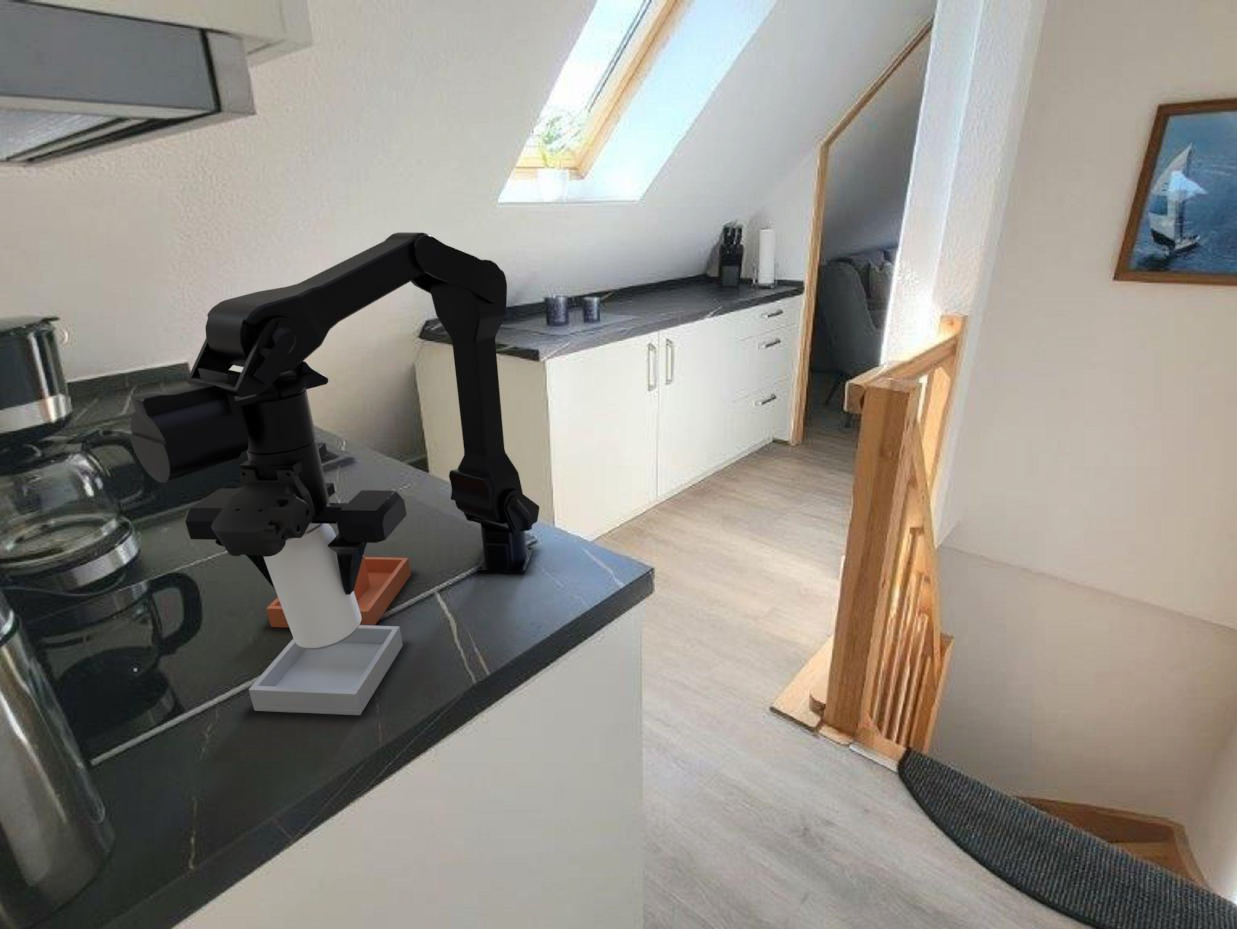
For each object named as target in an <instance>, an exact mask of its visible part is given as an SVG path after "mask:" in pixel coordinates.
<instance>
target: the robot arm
mask: <svg viewBox="0 0 1237 929" xmlns="http://www.w3.org/2000/svg"><path fill="white" fill-rule="evenodd" d="M409 283H412V285H413V286H415V287H416V288H418V289H420V290H422V291H424V292H426V293H428V294H430V295H431V300H432V304H433V308H434V311H435V315H436V317H437V319H438V320H439V322H440V323H441V325H442V327H443V328H444V330H445V331H446V333H447V335H448V336H449V338H450V339H451V340H450V341H451V344H452V351H453V353H452V354H453V361H454V371H455V380H456V389H457V398H458V407H459V416H460V425H461V436H462V445H463V453H464V454H463V457H462V458H461V461H460V462H459V464H458V467H457V468H456V469H455V468H454V469H450V471H449V473H448V478H449V481H450V486H451V493H450V500H451V501H454V502H455V506H456V508H457V510H460V512H462V513H463V515H464V517H465V519H466V520H467V521H468V522H473V523H477V524H480V532H481V539H482V549H483V556H482V558H481V559H480V561H479V563H478V565H477V567H476V572H477V573H479V574H480V573H481V574H514V575H515V574H521V575H522V574H525V572H526V571H527V569H528V567H529V563H530V561H531V559H532V556H533V555H534V554H533V553H534V547H533V546H527V542H526V532H527V531H531V530H532V529H533V525H534V524H536V523H537V522H538V520H539V515H540V514H539V513H540V505H538V504H537V503H536V502H534V501H533V500H532V499H530V498H529V497H528V496H526V494H524V492H523V487H522V483H521V478H520V474H519V471H518V470H517V468H516V466H515V465H514V463H513V462H512V460H511V459H510V457H509V456H508V453H506V449H505V439H504V426H503V416H502V415H503V414H502V405H501V393H500V381H499V368H498V357H497V345H496V344H497V343H496V337H497V335H498V333H499V330H500V328H501V326H502V324H503V322H504V320H505V318H506V315H507V301H508V300H507V299H508V298H507V297H508V282H507V278H506V274H505V271H504V270H503V269H501V268H500V266H499V265H498V263H496V262H494V261H493V260H491V259H481V258H479V257H477V256H475V255H473V254H471V253H467V252H466V251H462V250H460V249H458V248H455V247H452V246H450V245H447V244H445V243H443V242H442V241H441V240H439V239H437V238H436V237H434V236H431V235H430V234H428V233H425V232H411V231H410V232H408V231H407V232H406V231H405V232H404V231H403V232H399V231H398V232H394V233H392V234H390V235H389V236H388V237H387V238H385V239H384V240H383V241H381V242H379V243H377V244H376V245H373V246H371V247H369V248H367V249H365V250H363V251H360V252H359V253H357V254H355V255H353V256H351V257H349V258H347V259H345V260H343V261H341V262H338V263H337V264H334V265H333V266H331V267H329V268H326V269H324V270H322V271H321V272H318V273H317V274H314V275H312V276H311V277H308V278H307V279H305V280H303V281H300V282H298V283H295V284H292V285H288V286H283V287H277V288H271V289H265V290H260V291H259V290H258V291H255V292H251V293H247V294H243V295H240V296H236V297H232V298H231V297H230V298H228V299H224V300H222V301H220V302H218V303H217V304H215V305H214V306H213V307H211V309H210V310H209V311H208V313H207V314H206V315H207V321H206V324H205V327H204V328H205V340H204V342H203V344H202V345H201V348H200V350H199V352H198V355H197V357H196V359H195V361H194V364H193V366H192V368H191V370H190V372H189V375H188V377H187V379H186V383H187V385H188V386H187V385H186V386H183V387H178V388H173V389H169V390H163V391H148V392H143V393H139V394H135V395H133V396H132V397H131V402H132V406H133V408H134V411H133V413H132V414H131V417H130V430H131V433H129V434H128V436H129V437H128V438H129V440H130V443H131V446H132V448H133V451H134V453H135V455H136V457H137V459H138V461H139V462H140V464H141V466H142V467H143V469H144V470H145V472H147V474H148V475H149V476H150V477H151V478H152V479H153V480H155V481H156V482H158V483H160V484H163V483H168V482H173V481H174V480H178V479H180V478H184V477H187V476H190V475H192V474H196V473H199V472H202V471H205V470H208V469H211V468H214V467H217V466H221V465H224V464H227V463H230V462H233V461H236V460H238V459H239V458H240V457H241V455H242V453H244V452H246V453H247V458H248V460H246V461H244V462H243V463H241V464H239V468H240V470H239V473H238V474H239V477H240V488H226V487H225V488H224V487H223V488H221V487H220V488H218V489H217V490H215V491H214V492H213V493H211V494H209V495H208V496H205V498H203V499H201V500H199V501H198V502H196V503H195V504H193V505H192V506H190V507H189V508H188V510H187V512H186V514H185V517H184V523H185V527H186V530H187V533H188V536H189V539H190V540H210V541H211V540H213V541H214V543H215V544H216V545H217V546H220V547H223V548H224V549H225V550H226V552H227V553H228V555H230V556H233V557H241V556H242V555H243V556H246V557H247V558H248V559H249V560H250V561H251V563H253V565H254V566H255V567H256V568H257V569H258V571H259V572H260V573H261V575H262V576H263V577H264V578H265V579H266V581H267V582H268V584H269V585H270V586H271V587H272V589H274V591H275V592H276V590H275V588H274V585H273V582H272V579H271V577H270V574H269V571H268V568H267V566H266V563H265V560H264V557H269V556H273V555H276V554H278V553H279V552H280V551H281V550H282V549H283V548H284V546H285V544H286V540H287V539H289V538H301V537H302V536H303V535H304V533H305V531H306V529H307V528H308V526H309V524H310V523H313V524H329V525H336V526H337V531H338V534H337V535H336V537H335V538H334V539H333V540H332V541H331V542H330V543H329V544H328V545H327V546H328V547H329V548H330V549H332V550H333V551H334V552H336V554H337V560H338V565H339V571H340V576H341V582H342V586H343V588H344V591H345V594H346V595H350V594H351V593H352V592H353V590H354V588H355V584H356V581H357V577H358V573H359V569H360V565H361V562H362V558H363V555H365V551H366V548H367V544H379V543H381V542H383V541H386V540H387V539H388V537H390V535H391V534H392V533H393V532H394V531H395V529H396V528H397V527H398V526H399V524H400V523H401V522H402V521H403V520H404V519H405V518H406V517H407V509H406V502H405V499H404V498H403V497H402V495H401V494H400V493H399V492H397V491H396V490H378V489H377V490H373V489H369V490H367V489H361V490H360V491H359V492H358V493H357V494H356V495H355V496H353V497H352V499H350V500H349V501H348V502H330V498H331V497H332V496H333V495H334V494H335V493H336V488H335V484H334V482H327V481H326V478H325V473H324V468H323V464H322V458H323V457H324V456H325V455H327V454H328V449H327V444H326V442H318V438H317V436H316V435H317V434H316V429H315V425H314V421H313V420H314V419H313V415H312V411H311V410H312V409H311V404H310V400H309V397H308V392H307V390H310V389H314V388H317V387H321V386H325V385H328V383H329V377H328V376H326V375H325V374H323V373H320V372H318V370H315V369H314V368H313V367H311V366H310V364H308V362H307V361H305V360H306V359H307V358H308V357H310V356H311V355H312V354H313V353H314V352H315V351H316V350H318V349H319V348H320V347H321V346H323V343H324V341H325V339H326V337H327V336H328V334H329V332H330V331H331V330H332V329H333V328H334V327H335V326H336V325H337V324H338V323H340V322H342V321H343V320H345V319H347V318H348V317H350V316H352V315H354V314H355V313H357V312H359V311H361V310H363V309H365V308H366V307H368V306H370V305H371V304H373V303H375V302H377V301H379V300H380V299H382V298H384V297H385V296H387V295H389V294H391V293H392V292H395V291H396V290H398V289H400V288H401V287H403V286H405V285H407V284H409ZM234 366H235V367H240V368H242V370H241V371H238V370H237V371H236V370H232V369H231V368H232V367H234Z"/></svg>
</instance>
